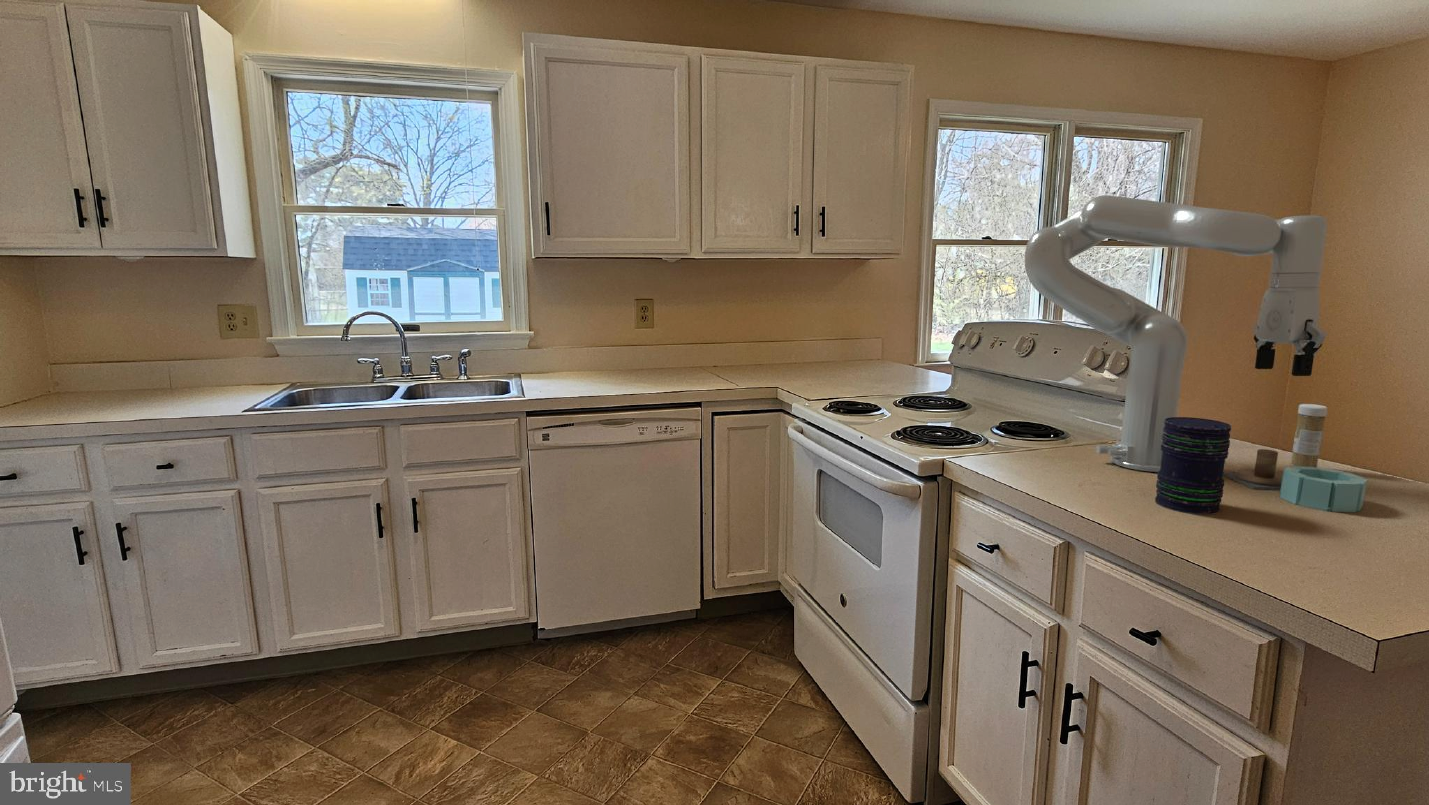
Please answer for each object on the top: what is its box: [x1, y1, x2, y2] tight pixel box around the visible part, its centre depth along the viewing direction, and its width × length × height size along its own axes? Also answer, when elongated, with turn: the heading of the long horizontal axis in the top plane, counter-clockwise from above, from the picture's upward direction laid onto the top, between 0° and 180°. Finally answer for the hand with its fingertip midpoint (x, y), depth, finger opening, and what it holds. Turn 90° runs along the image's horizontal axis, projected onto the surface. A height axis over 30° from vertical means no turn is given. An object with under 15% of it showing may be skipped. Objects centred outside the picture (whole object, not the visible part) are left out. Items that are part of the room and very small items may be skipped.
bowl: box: [1279, 466, 1368, 513], centre depth 128 cm, size 11×11×5 cm
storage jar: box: [1154, 416, 1232, 515], centre depth 125 cm, size 10×10×15 cm
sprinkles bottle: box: [1289, 403, 1328, 468], centre depth 148 cm, size 5×5×13 cm
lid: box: [1235, 448, 1283, 487], centre depth 139 cm, size 9×9×6 cm
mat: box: [1223, 471, 1281, 491], centre depth 140 cm, size 10×10×1 cm
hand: (1281, 372), depth 139 cm, fingers open, 9 cm apart
